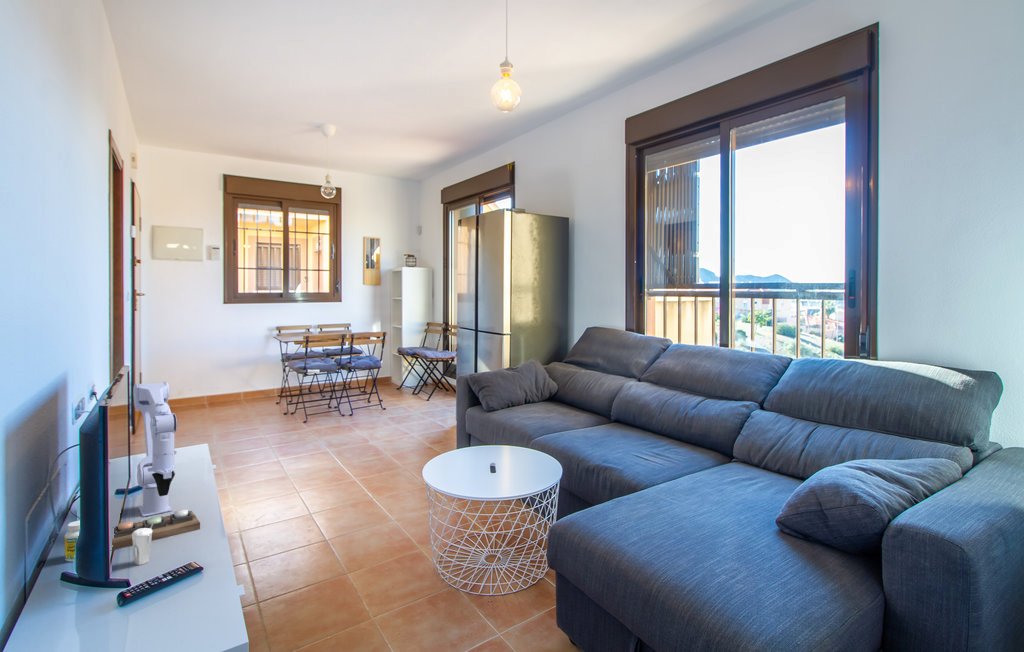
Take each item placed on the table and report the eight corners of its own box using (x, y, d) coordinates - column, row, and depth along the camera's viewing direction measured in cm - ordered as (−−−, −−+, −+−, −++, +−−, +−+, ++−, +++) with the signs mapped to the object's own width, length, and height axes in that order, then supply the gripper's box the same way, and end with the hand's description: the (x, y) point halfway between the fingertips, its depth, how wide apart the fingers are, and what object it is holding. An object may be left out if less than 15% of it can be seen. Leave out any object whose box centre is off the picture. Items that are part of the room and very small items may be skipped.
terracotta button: (117, 528, 149) (117, 523, 149) (132, 525, 151) (132, 519, 151) (118, 532, 146) (118, 527, 146) (134, 529, 149) (134, 523, 149)
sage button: (146, 524, 154) (146, 519, 154) (160, 520, 156) (160, 515, 156) (148, 528, 151) (148, 522, 151) (162, 524, 154) (162, 519, 154)
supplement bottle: (91, 550, 142) (91, 517, 141) (88, 559, 137) (88, 524, 137) (66, 555, 139) (66, 521, 138) (62, 564, 134) (62, 528, 134)
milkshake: (159, 558, 138) (159, 522, 138) (139, 567, 133) (139, 530, 133) (147, 555, 140) (147, 520, 140) (127, 564, 135) (127, 527, 135)
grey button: (173, 516, 159) (173, 511, 159) (186, 513, 161) (186, 508, 161) (175, 519, 156) (175, 514, 156) (189, 516, 158) (189, 511, 158)
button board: (106, 535, 151) (106, 524, 151) (191, 516, 166) (191, 506, 166) (110, 550, 142) (110, 538, 142) (200, 528, 157) (200, 517, 157)
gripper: (144, 449, 161) (144, 491, 162) (151, 460, 151) (151, 505, 151) (170, 446, 166) (170, 486, 167) (179, 456, 156) (179, 499, 156)
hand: (163, 495), depth 159 cm, fingers closed
